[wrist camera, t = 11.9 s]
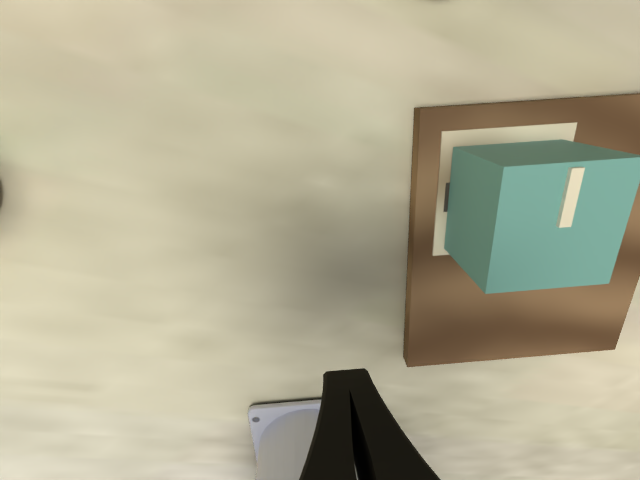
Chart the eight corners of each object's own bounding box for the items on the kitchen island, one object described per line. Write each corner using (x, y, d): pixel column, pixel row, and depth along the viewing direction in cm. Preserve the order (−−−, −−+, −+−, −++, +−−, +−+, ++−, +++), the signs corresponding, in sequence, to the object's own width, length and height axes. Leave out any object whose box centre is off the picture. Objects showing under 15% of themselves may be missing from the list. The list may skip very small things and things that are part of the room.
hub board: (603, 339, 25) (660, 387, 21) (403, 356, 25) (423, 408, 21) (682, 90, 19) (785, 92, 15) (414, 107, 18) (446, 114, 14)
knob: (541, 240, 20) (612, 285, 16) (444, 248, 20) (487, 296, 16) (562, 139, 18) (651, 157, 14) (452, 146, 18) (506, 168, 13)
